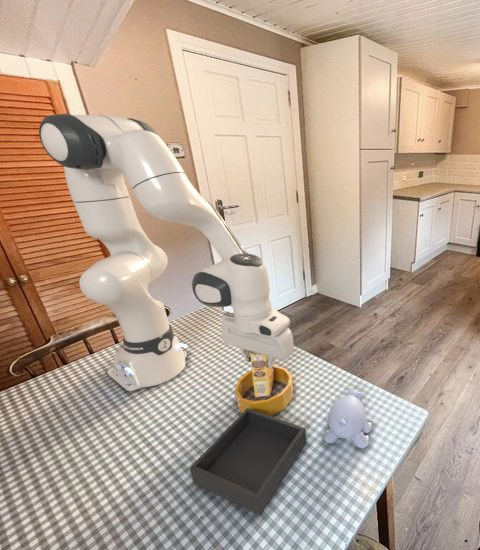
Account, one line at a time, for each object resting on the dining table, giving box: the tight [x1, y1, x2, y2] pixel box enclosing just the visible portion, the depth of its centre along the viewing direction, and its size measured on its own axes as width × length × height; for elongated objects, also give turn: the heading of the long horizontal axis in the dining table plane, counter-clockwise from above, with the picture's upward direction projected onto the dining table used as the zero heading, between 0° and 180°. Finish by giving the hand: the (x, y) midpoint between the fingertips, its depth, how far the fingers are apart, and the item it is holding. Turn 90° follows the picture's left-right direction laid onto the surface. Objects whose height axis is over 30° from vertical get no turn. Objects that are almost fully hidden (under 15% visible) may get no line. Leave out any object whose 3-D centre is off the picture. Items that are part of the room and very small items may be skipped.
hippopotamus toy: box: [323, 388, 373, 449], centre depth 74 cm, size 11×15×10 cm
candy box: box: [250, 351, 275, 398], centre depth 84 cm, size 9×4×15 cm, turn 8°
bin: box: [189, 408, 307, 517], centre depth 66 cm, size 17×17×5 cm
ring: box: [234, 364, 294, 417], centre depth 84 cm, size 15×15×5 cm
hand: (259, 363), depth 81 cm, fingers closed on candy box, 5 cm apart
